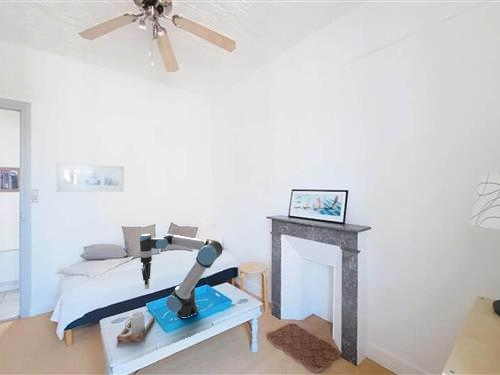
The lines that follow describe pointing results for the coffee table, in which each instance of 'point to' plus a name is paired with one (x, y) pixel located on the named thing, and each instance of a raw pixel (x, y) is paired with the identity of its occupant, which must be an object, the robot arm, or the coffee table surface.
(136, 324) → the mug
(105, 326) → the coffee table surface
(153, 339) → the coffee table surface
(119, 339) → the guide
